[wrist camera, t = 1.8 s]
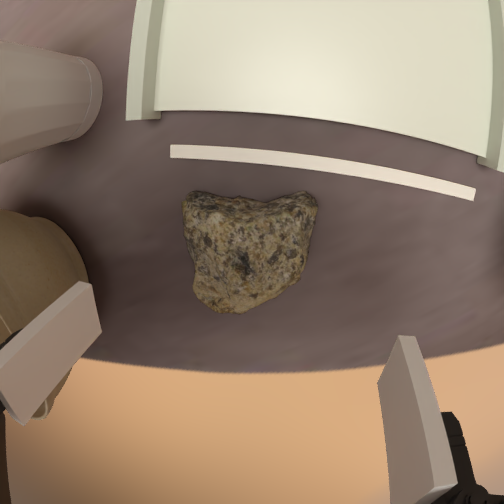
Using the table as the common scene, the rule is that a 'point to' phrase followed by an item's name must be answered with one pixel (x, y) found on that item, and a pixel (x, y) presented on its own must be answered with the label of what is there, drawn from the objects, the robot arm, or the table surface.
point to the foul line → (322, 166)
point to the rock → (246, 247)
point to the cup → (44, 98)
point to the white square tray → (329, 64)
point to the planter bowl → (34, 276)
